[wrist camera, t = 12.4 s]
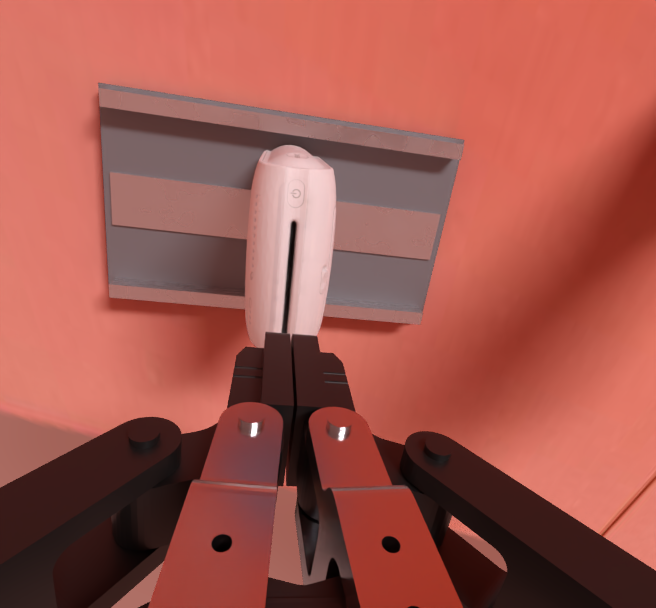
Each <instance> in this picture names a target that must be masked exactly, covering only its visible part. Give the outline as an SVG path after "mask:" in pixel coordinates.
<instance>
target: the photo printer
mask: <svg viewBox="0 0 656 608" xmlns="http://www.w3.org/2000/svg"><path fill="white" fill-rule="evenodd" d="M335 223H336V183H335V176H334V170H333V168H332V167H330V166H329V165H328V164H327V163H325V162H324V161H323V160H322V159H321V158H319V157H318V156H312V155H311V154H310V153H308V152H307V151H306V150H304V149H303V148H301V147H298V146H295V145H283V146H279V147H277V148H275V149H274V150H272V151H268V150H265V151H264V152H263V154H262V155H261V157H260V159H259V161H258V163H257V166H256V170H255V174H254V178H253V182H252V189H251V198H250V208H249V219H248V232H247V250H246V273H245V319H246V326H247V331H248V335H249V338H250V340H251V342H252V343H253V344H254V345H255V346H256V347H257V348H264V341H265V332H276V333H288V334H290V339H291V337H292V334H302V335H314V336H317V334H318V331H319V330H320V327H321V323H322V318H323V313H324V308H325V303H326V298H327V292H328V285H329V278H330V271H331V264H332V255H333V246H334V235H335Z"/></svg>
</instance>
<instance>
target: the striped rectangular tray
mask: <svg viewBox="0 0 656 608" xmlns="http://www.w3.org/2000/svg"><path fill="white" fill-rule="evenodd" d="M99 105H100V106H101V107H107V108H114V109H121V110H127V111H134V112H141V113H147V114H154V115H161V116H168V117H174V118H181V119H188V120H194V121H201V122H208V123H215V124H221V125H228V126H235V127H241V128H248V129H255V130H262V131H268V132H275V133H282V134H288V135H295V136H302V137H309V138H315V139H322V140H329V141H335V142H342V143H349V144H356V145H362V146H369V147H376V148H382V149H389V150H396V151H402V152H409V153H416V154H423V155H429V156H436V157H443V158H449V159H456V160H461V157H462V153H463V148H464V144H457V143H451V142H444V141H438V140H432V139H425V138H419V137H412V136H406V135H399V134H393V133H386V132H380V131H373V130H367V129H361V128H354V127H348V126H341V125H335V124H328V123H322V122H315V121H309V120H302V119H296V118H290V117H283V116H277V115H270V114H264V113H257V112H251V111H244V110H238V109H231V108H225V107H219V106H212V105H206V104H199V103H193V102H186V101H180V100H173V99H167V98H160V97H154V96H148V95H141V94H135V93H128V92H122V91H115V90H109V89H102V88H99ZM110 187H111V209H112V225H121V226H130V227H139V228H148V229H157V230H166V231H175V232H184V233H193V234H202V235H211V236H220V237H229V238H238V239H247V232H248V219H249V208H250V198H251V190H249V189H241V188H233V187H226V186H218V185H210V184H202V183H194V182H187V181H179V180H171V179H163V178H155V177H148V176H140V175H132V174H124V173H116V172H110ZM440 215H441V214H436V213H428V212H420V211H413V210H405V209H397V208H389V207H381V206H374V205H366V204H358V203H350V202H342V201H336V223H335V235H334V246H333V249H336V250H345V251H354V252H363V253H372V254H381V255H390V256H399V257H408V258H417V259H426V260H430V257H431V253H432V249H433V245H434V240H435V236H436V232H437V228H438V224H439V220H440ZM109 297H110V298H121V299H133V300H144V301H155V302H167V303H178V304H190V305H201V306H212V307H224V308H235V309H245V290H243V289H232V288H222V287H211V286H200V285H190V284H179V283H168V282H158V281H147V280H137V279H126V278H115V279H114V280H113V281H112V282H110V283H109ZM422 315H423V312H422V311H421V310H420V308H419V307H418V306H413V305H402V304H391V303H381V302H370V301H359V300H349V299H338V298H328V297H327V298H326V303H325V308H324V313H323V316H327V317H338V318H349V319H361V320H372V321H384V322H395V323H407V324H418V325H420V324H421V320H422Z"/></svg>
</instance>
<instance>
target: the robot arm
mask: <svg viewBox="0 0 656 608" xmlns="http://www.w3.org/2000/svg"><path fill="white" fill-rule="evenodd" d="M285 468H286V486H297V502H296V508H295V521H296V529H297V537H298V545H299V552H300V560H301V568H302V576H303V584H304V585H296V584H292V583H289V582H285V581H281V580H276V579H273V578H269V577H268V573H269V563H270V554H271V544H272V534H273V524H274V514H275V504H276V499H277V491H278V486H283V483H284V476H285ZM452 515H453V516H454V517H455V518H457V519H458V520H459V521H461V522H462V523H463V524H464V525H466V526H467V527H468V528H470V529H471V530H472V531H473V532H475V533H476V534H477V535H479V536H480V537H481V538H483V539H484V540H485V541H487V542H488V543H489V544H491V545H492V546H493V547H494V548H496V550H498V551H499V553H500V554H501V555H502V556H503V558H504V560H505V562H506V565H507V572H505V571H504V570H502V569H501V568H499V567H498V566H497V565H495V564H494V563H493V562H492V561H490V560H489V559H488V558H487V557H485V556H484V555H483V554H481V553H480V552H479V551H478V550H476V549H475V548H474V547H473V546H472V545H470V544H469V543H468V542H466V541H465V540H464V539H463V538H462V537H460V536H459V535H458V534H456V533H455V532H454V531H453V530H451V529H450V528H449V527H448V526H449V523H450V520H451V517H452ZM163 561H164V563H163V567H162V569H161V572H160V575H159V578H158V581H157V584H156V587H155V590H154V592H153V595H152V598H151V601H150V602H149V603H147V604H144V605H143V606H140V607H139V608H656V571H655V570H654V569H652V568H651V567H649V566H648V565H646V564H644V563H643V562H641V561H640V560H638V559H637V558H635V557H634V556H632V555H630V554H629V553H627V552H626V551H624V550H623V549H621V548H620V547H618V546H617V545H615V544H613V543H612V542H610V541H609V540H607V539H606V538H604V537H603V536H601V535H599V534H598V533H596V532H595V531H593V530H592V529H590V528H589V527H587V526H586V525H584V524H582V523H581V522H579V521H578V520H576V519H575V518H573V517H572V516H570V515H568V514H567V513H565V512H564V511H562V510H561V509H559V508H558V507H556V506H555V505H553V504H551V503H550V502H548V501H547V500H545V499H544V498H542V497H541V496H539V495H537V494H536V493H534V492H533V491H531V490H530V489H528V488H527V487H525V486H524V485H522V484H520V483H519V482H517V481H516V480H514V479H513V478H511V477H510V476H508V475H506V474H505V473H503V472H502V471H500V470H499V469H497V468H496V467H494V466H493V465H491V464H489V463H488V462H486V461H485V460H483V459H482V458H480V457H479V456H477V455H475V454H474V453H472V452H471V451H469V450H468V449H466V448H465V447H463V446H462V445H460V444H458V443H457V442H455V441H454V440H452V439H450V438H449V437H446V436H444V435H442V434H439V433H435V432H428V431H422V432H417V433H414V434H412V435H410V436H409V437H408V438H407V440H406V442H405V445H402V444H398V443H395V442H391V441H387V440H384V439H381V438H379V437H377V436H375V435H373V434H372V433H371V431H370V428H369V426H368V424H367V422H366V421H365V419H364V418H363V417H361V416H360V415H359V414H357V413H356V412H355V408H354V405H353V401H352V397H351V393H350V389H349V385H348V381H347V378H346V376H345V370H344V366H343V363H342V362H341V361H340V360H339V359H338V358H337V357H336V356H335V355H334V353H323V352H320V350H319V344H318V338H317V336H314V335H302V334H292V337H291V339H290V334H288V333H276V332H265V341H264V348H255V347H245V348H244V349H243V350H242V351H241V352H240V353H239V354H238V355H237V356H236V362H235V368H234V373H233V378H232V384H231V389H230V395H229V400H228V406H227V409H226V410H225V411H224V412H223V413H222V414H221V416H220V418H219V421H218V423H217V424H215V425H213V426H211V427H209V428H207V429H204V430H201V431H197V432H191V433H186V434H181V431H180V429H179V427H178V426H177V425H176V424H175V423H173V422H171V421H169V420H167V419H164V418H159V417H144V418H138V419H133V420H130V421H128V422H125V423H123V424H121V425H119V426H117V427H115V428H114V429H112V430H110V431H108V432H106V433H104V434H102V435H100V436H98V437H96V438H94V439H93V440H91V441H89V442H87V443H85V444H83V445H81V446H79V447H77V448H75V449H73V450H72V451H70V452H68V453H66V454H64V455H62V456H60V457H58V458H56V459H54V460H52V461H50V462H49V463H47V464H45V465H43V466H41V467H39V468H37V469H35V470H33V471H31V472H30V473H28V474H26V475H24V476H22V477H20V478H18V479H16V480H14V481H13V482H10V483H8V484H7V485H5V486H3V487H1V488H0V608H111V607H112V606H113V605H114V604H115V603H117V602H118V601H119V600H120V599H121V598H122V597H123V596H125V595H126V594H127V593H128V592H129V591H130V590H131V589H133V588H134V587H135V586H136V585H137V584H138V583H139V582H141V581H142V580H143V579H144V578H145V577H146V576H147V575H148V574H150V573H151V572H152V571H153V570H154V569H155V568H156V567H158V566H159V565H160V564H161V563H162V562H163Z"/></svg>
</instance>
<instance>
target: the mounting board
mask: <svg viewBox="0 0 656 608" xmlns="http://www.w3.org/2000/svg"><path fill="white" fill-rule="evenodd" d="M98 86H99V88H102V89H109V90H115V91H122V92H128V93H135V94H141V95H148V96H154V97H160V98H167V99H173V100H180V101H186V102H193V103H199V104H206V105H212V106H219V107H225V108H231V109H238V110H244V111H251V112H257V113H264V114H270V115H277V116H283V117H290V118H296V119H302V120H309V121H315V122H322V123H328V124H335V125H341V126H348V127H354V128H361V129H367V130H373V131H380V132H386V133H393V134H399V135H406V136H412V137H419V138H425V139H432V140H438V141H444V142H451V143H457V144H464V140H461V139H455V138H448V137H442V136H436V135H429V134H423V133H416V132H410V131H404V130H397V129H391V128H385V127H378V126H372V125H365V124H359V123H353V122H346V121H340V120H333V119H327V118H321V117H314V116H308V115H301V114H295V113H289V112H282V111H276V110H270V109H263V108H257V107H250V106H244V105H238V104H231V103H225V102H218V101H212V100H206V99H199V98H193V97H187V96H180V95H174V94H167V93H161V92H155V91H148V90H142V89H135V88H129V87H123V86H116V85H110V84H104V83H98ZM100 125H101V144H102V164H103V183H104V202H105V222H106V241H107V261H108V280H109V283H110V282H112V281H113V280H114V279H115V278H126V279H137V280H147V281H158V282H168V283H179V284H190V285H200V286H211V287H222V288H232V289H243V290H245V273H246V250H247V239H238V238H229V237H220V236H211V235H202V234H193V233H184V232H175V231H166V230H157V229H148V228H139V227H130V226H121V225H112V209H111V187H110V172H116V173H124V174H132V175H140V176H148V177H155V178H163V179H171V180H179V181H187V182H194V183H202V184H210V185H218V186H226V187H233V188H241V189H249V190H251V189H252V182H253V178H254V174H255V170H256V166H257V163H258V161H259V159H260V157H261V155H262V154H263V152H264V151H265V150H268V151H272V150H274V149H275V148H277V147H279V146H283V145H295V146H298V147H301V148H303V149H304V150H306V151H307V152H308V153H310V154H311V155H312V156H318V157H319V158H321V159H322V160H323V161H324V162H325V163H327V164H328V165H329V166H330V167H332V168H333V170H334V176H335V183H336V201H342V202H350V203H358V204H366V205H374V206H381V207H389V208H397V209H405V210H413V211H420V212H428V213H436V214H441V215H440V220H439V224H438V228H437V232H436V236H435V240H434V245H433V249H432V253H431V257H430V260H426V259H417V258H408V257H399V256H390V255H381V254H372V253H363V252H354V251H345V250H336V249H333V255H332V264H331V271H330V278H329V285H328V292H327V297H328V298H338V299H349V300H359V301H370V302H381V303H391V304H402V305H413V306H418V307H419V308H420V310H421V311H422V312H423V307H424V303H425V299H426V295H427V291H428V287H429V283H430V279H431V275H432V271H433V267H434V262H435V258H436V254H437V250H438V246H439V242H440V238H441V234H442V230H443V226H444V222H445V217H446V213H447V209H448V205H449V201H450V197H451V193H452V189H453V185H454V181H455V177H456V173H457V168H458V164H459V160H456V159H449V158H443V157H436V156H429V155H423V154H416V153H409V152H402V151H396V150H389V149H382V148H376V147H369V146H362V145H356V144H349V143H342V142H335V141H329V140H322V139H315V138H309V137H302V136H295V135H288V134H282V133H275V132H268V131H262V130H255V129H248V128H241V127H235V126H228V125H221V124H215V123H208V122H201V121H194V120H188V119H181V118H174V117H168V116H161V115H154V114H147V113H141V112H134V111H127V110H121V109H114V108H107V107H101V106H100Z"/></svg>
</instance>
